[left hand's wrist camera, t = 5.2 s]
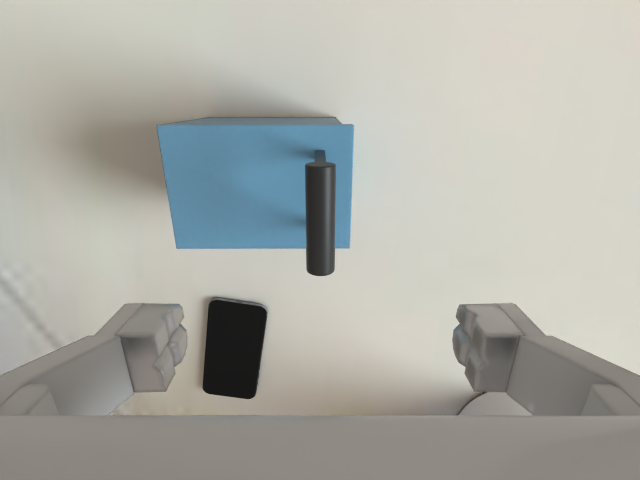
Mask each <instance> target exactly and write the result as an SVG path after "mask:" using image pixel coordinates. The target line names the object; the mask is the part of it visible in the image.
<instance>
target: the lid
mask: <svg viewBox="0 0 640 480" xmlns="http://www.w3.org/2000/svg"><path fill="white" fill-rule="evenodd" d="M157 131H158V137H159V143H160V150H161V156H162V162H163V168H164V174H165V180H166V186H167V193H168V199H169V205H170V211H171V217H172V223H173V229H174V236H175V242H176V248H177V249H239V248H306V262H307V271H308V273H310V274H312V275H315V276H326V275H329V274H331V273H333V272H334V267H335V248H350V229H351V199H352V169H353V139H354V125H352V124H163V125H157Z"/></svg>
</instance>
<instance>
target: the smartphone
mask: <svg viewBox="0 0 640 480" xmlns="http://www.w3.org/2000/svg"><path fill="white" fill-rule="evenodd" d="M267 314H268V311H267V308H266V307H265V306H264V305H262V304H256V303H250V302H243V301H237V300H230V299H223V298H214V299H213V300H211V302H210V304H209V309H208V323H207V336H206V349H205V363H204V376H203V390H204V391H205V392H206V393H208V394H214V395H221V396H229V397H236V398H244V399H251V398H253V397H254V396H255V395H256V390H257V384H258V378H259V370H260V362H261V355H262V348H263V341H264V334H265V328H266V321H267Z"/></svg>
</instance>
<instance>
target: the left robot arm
mask: <svg viewBox="0 0 640 480" xmlns="http://www.w3.org/2000/svg"><path fill="white" fill-rule="evenodd" d="M183 318H184V314H183V309H182V307H181V306H180V304H155V303H146V304H145V303H128V304H124V306H123V307H122V308H121V309H120V310H119V311H118V312H117V313H116V314H115V315H114V316H113V317H112V318H111V319H110V320H109V321H108V322H107V323H106V324H105V325H104V326H103V327H102V328H101V329H100V330H99V331H98V332H97V333H96V334H95V335H94V336H87V337H84V338H82V339H80V340H78V341H76V342H73V343H71V344H69V345H67V346H65V347H62V348H60V349H58V350H56V351H54V352H51V353H49V354H47V355H45V356H42V357H40V358H38V359H36V360H34V361H31V362H29V363H27V364H25V365H23V366H20V367H18V368H16V369H14V370H12V371H9V372H7V373H5V374H3V375H0V480H640V376H639V375H637V374H635V373H633V372H630V371H628V370H626V369H624V368H622V367H619V366H617V365H615V364H613V363H611V362H608V361H606V360H604V359H602V358H600V357H597V356H595V355H593V354H591V353H589V352H586V351H584V350H582V349H580V348H578V347H575V346H573V345H571V344H569V343H567V342H564V341H562V340H560V339H558V338H555V337H553V336H546V335H545V334H544V333H543V332H542V331H541V330H540V329H539V328H538V327H537V326H536V325H535V324H534V323H533V322H532V321H531V320H530V319H529V318H528V317H527V316H526V315H525V314H524V313H523V312H522V311H521V310H520V308H519V307H518V306H517V305H515V304H513V303H497V304H462V305H459V307H458V309H457V314H456V318H457V320H458V321H459V323H460V324H459V325H458V326H457V327H456V328H455V329H454V332H453V350H454V353H455V356H456V358H457V360H458V362H459V363H460V364H462V365H463V366H465V367H466V368H465V375H466V377H467V379H468V381H469V383H470V385H471V386H472V388H473V390H474V392H487V393H485V394H482V395H480V396H479V397H477V398H475V399H474V400H472V401H471V402H470V403H469V404H468V405H466V406H465V407H464V409H463V410H462V411H461V412H460V414H459V415H458V416H107V415H108V414H109V413H111V412H112V411H113V410H114V409H116V408H117V407H118V406H119V405H121V404H122V403H123V402H124V401H126V400H127V399H128V398H129V397H131V396H132V395H133V394H134V392H166V390H167V388H168V386H169V385H170V383H171V381H172V379H173V377H174V375H175V369H174V367H175V366H177V365H178V364H180V363H181V362H182V360H183V358H184V356H185V353H186V349H187V332H186V329H185V328H184V327H183V326H182V325H181V324H180V323H181V321H182V320H183Z"/></svg>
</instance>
